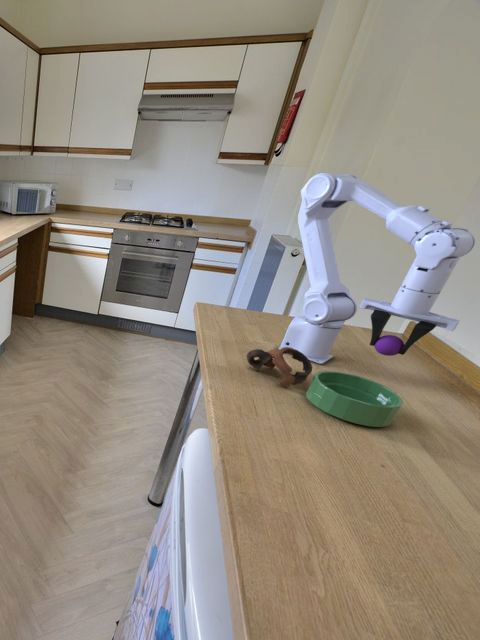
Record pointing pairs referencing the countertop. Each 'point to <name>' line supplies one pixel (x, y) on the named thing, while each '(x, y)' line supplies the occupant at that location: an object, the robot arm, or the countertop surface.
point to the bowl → (354, 398)
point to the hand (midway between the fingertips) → (387, 348)
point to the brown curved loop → (281, 364)
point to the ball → (389, 345)
